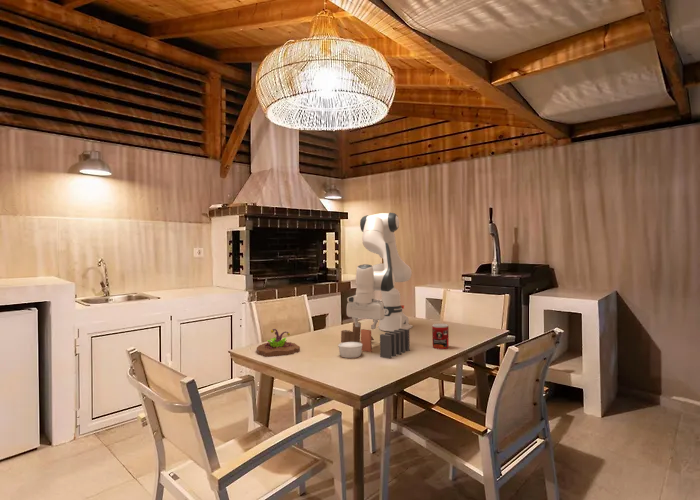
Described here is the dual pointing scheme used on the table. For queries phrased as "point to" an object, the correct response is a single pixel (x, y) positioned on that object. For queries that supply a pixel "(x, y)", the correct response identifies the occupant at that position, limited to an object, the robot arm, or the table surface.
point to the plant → (277, 346)
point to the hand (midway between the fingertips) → (365, 327)
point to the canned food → (440, 336)
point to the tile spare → (366, 340)
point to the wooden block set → (352, 334)
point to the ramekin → (350, 349)
